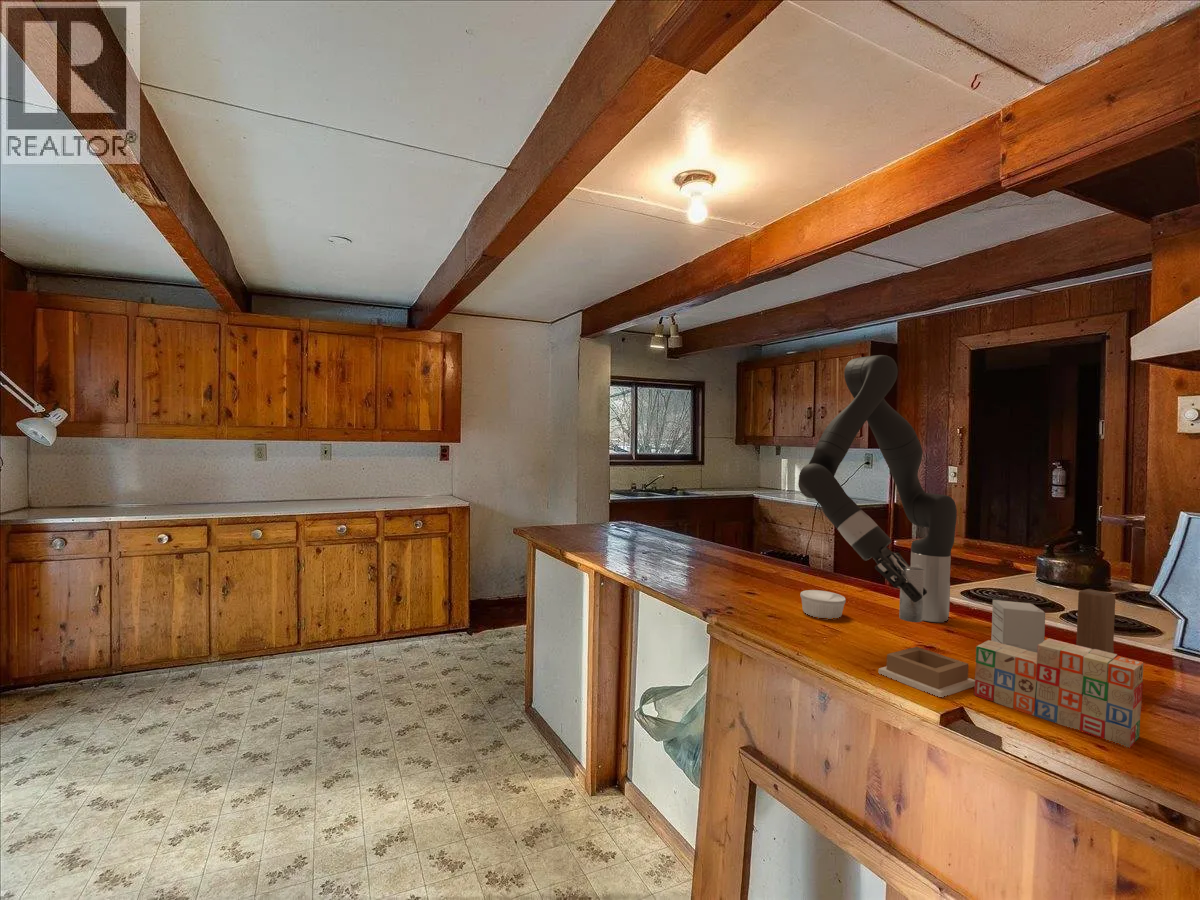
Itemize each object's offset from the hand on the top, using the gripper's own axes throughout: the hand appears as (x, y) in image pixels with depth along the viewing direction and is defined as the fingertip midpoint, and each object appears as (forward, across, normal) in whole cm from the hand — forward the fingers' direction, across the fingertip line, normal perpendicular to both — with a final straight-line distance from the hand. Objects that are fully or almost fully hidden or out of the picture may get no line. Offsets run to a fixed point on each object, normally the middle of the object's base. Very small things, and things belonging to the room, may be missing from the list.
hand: (921, 597), depth 123 cm
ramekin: (-9, +16, +28) cm, 33 cm away
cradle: (+11, -14, +6) cm, 19 cm away
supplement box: (+21, +9, -2) cm, 23 cm away
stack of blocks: (+25, -16, -7) cm, 30 cm away
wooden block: (+30, +10, -11) cm, 34 cm away
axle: (+2, 0, +5) cm, 6 cm away
